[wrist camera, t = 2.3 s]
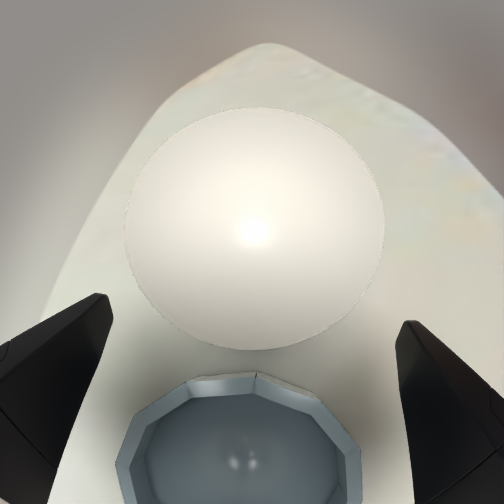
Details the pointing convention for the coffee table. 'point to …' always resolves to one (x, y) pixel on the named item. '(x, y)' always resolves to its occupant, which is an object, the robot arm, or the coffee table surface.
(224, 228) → the ivory pillar candle
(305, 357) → the coffee table surface
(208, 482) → the slate dish
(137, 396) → the coffee table surface
